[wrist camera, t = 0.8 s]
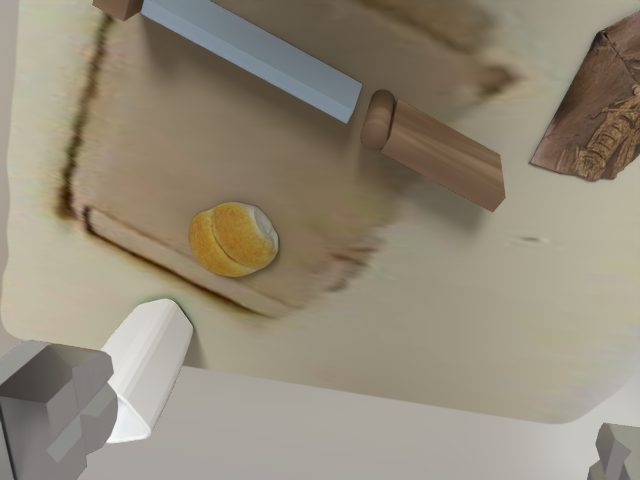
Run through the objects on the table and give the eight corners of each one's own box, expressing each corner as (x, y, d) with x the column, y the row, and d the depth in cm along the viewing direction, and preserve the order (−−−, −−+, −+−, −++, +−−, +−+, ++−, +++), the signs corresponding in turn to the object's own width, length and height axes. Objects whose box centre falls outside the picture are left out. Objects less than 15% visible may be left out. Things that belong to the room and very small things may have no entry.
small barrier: (142, -47, 46) (99, -28, 41) (502, 151, 50) (508, 193, 45) (134, -18, 48) (92, 4, 42) (485, 172, 52) (489, 216, 46)
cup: (125, 299, 69) (58, 399, 58) (175, 286, 67) (115, 389, 55) (158, 342, 73) (101, 445, 61) (207, 332, 70) (157, 438, 58)
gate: (173, -20, 47) (144, -2, 42) (362, 84, 49) (353, 110, 44) (169, -6, 47) (140, 13, 43) (355, 96, 49) (346, 123, 45)
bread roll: (180, 218, 61) (164, 240, 58) (248, 187, 57) (236, 209, 54) (225, 276, 65) (213, 300, 62) (293, 250, 61) (284, 274, 58)
